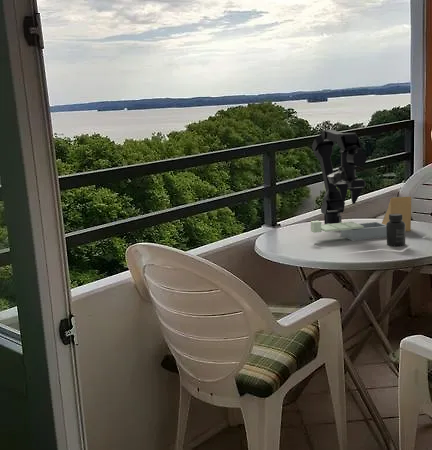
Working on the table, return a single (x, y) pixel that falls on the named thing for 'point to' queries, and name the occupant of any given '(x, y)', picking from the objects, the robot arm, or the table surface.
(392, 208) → the sandwich container
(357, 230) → the tub
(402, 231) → the supplement bottle
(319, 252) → the table surface
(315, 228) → the lid
